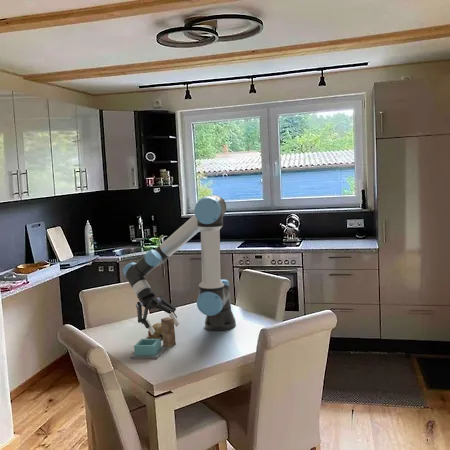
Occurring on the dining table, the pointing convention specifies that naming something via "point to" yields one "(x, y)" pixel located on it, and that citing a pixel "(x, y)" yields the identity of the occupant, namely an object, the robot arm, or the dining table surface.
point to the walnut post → (168, 331)
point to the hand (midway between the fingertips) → (165, 329)
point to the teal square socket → (148, 349)
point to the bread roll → (156, 331)
